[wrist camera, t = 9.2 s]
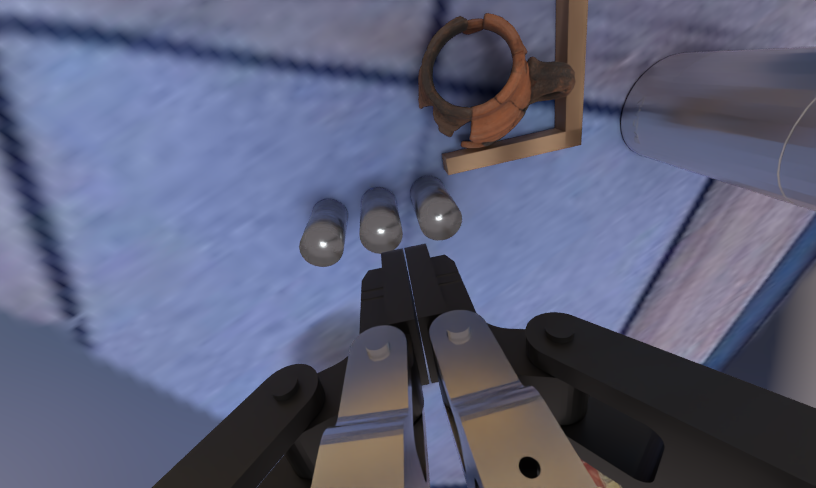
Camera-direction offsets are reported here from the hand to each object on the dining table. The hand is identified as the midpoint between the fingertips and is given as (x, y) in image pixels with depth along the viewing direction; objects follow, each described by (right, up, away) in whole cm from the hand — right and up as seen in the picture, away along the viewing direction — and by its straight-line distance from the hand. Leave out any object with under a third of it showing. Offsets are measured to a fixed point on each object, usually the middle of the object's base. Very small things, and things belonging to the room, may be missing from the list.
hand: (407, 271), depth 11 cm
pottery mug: (+6, +15, +18) cm, 25 cm away
